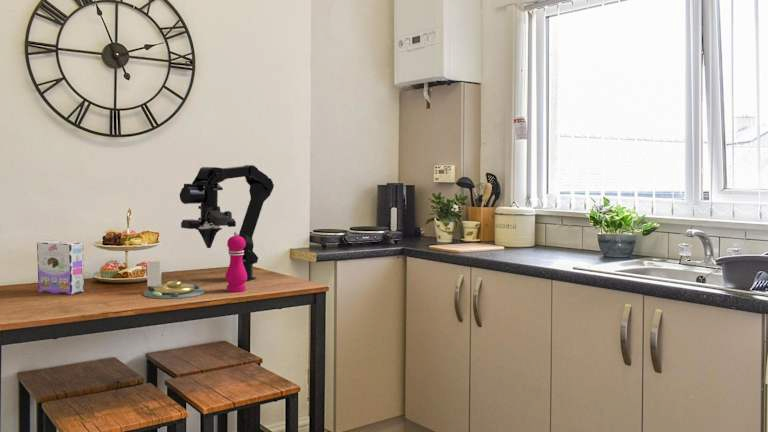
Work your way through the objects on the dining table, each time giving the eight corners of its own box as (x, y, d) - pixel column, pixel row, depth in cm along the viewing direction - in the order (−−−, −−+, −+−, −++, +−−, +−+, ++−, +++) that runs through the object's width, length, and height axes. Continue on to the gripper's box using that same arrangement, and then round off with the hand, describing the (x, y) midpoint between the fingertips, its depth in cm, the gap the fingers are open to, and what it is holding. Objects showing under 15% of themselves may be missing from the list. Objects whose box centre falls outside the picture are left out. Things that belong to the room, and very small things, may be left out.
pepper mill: (241, 293, 221) (242, 232, 219) (221, 291, 222) (221, 231, 221) (250, 289, 228) (250, 230, 226) (230, 288, 229) (230, 229, 228)
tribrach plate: (216, 293, 219) (216, 288, 219) (163, 301, 205) (163, 295, 205) (184, 285, 231) (184, 280, 231) (132, 292, 217) (132, 287, 217)
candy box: (84, 292, 217) (84, 241, 216) (70, 295, 212) (70, 243, 210) (51, 288, 222) (50, 239, 220) (37, 291, 216) (36, 241, 215)
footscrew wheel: (199, 287, 224) (199, 259, 224) (187, 294, 212) (187, 265, 211) (155, 286, 224) (154, 258, 224) (141, 293, 212) (141, 264, 211)
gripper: (198, 205, 219) (198, 252, 220) (245, 203, 233) (244, 248, 234) (180, 203, 227) (180, 249, 228) (226, 202, 241) (226, 245, 242)
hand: (208, 248), depth 233 cm, fingers closed
